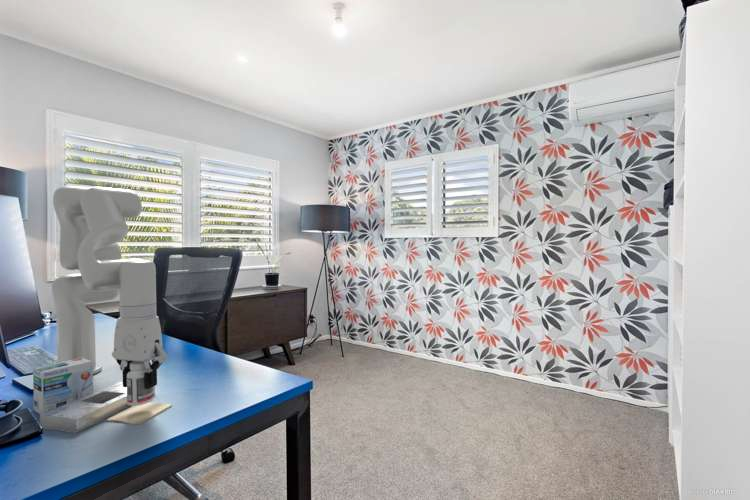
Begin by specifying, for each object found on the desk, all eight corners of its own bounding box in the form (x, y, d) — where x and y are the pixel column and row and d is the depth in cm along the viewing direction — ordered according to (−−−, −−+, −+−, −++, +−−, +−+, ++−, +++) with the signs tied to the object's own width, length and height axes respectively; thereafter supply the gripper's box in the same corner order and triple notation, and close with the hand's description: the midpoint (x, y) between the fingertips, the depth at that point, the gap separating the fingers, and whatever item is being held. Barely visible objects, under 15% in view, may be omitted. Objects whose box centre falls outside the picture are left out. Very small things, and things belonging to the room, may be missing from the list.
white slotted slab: (40, 428, 86) (39, 415, 85) (124, 390, 107) (124, 380, 107) (76, 432, 83) (76, 419, 83) (154, 393, 105) (154, 382, 105)
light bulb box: (43, 417, 91) (41, 372, 91) (32, 411, 95) (31, 367, 94) (94, 401, 100) (93, 360, 100) (83, 396, 104) (82, 356, 104)
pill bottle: (156, 396, 96) (155, 357, 96) (148, 405, 91) (147, 364, 91) (132, 398, 95) (131, 359, 95) (123, 407, 90) (122, 366, 89)
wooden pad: (106, 420, 89) (106, 419, 89) (141, 403, 99) (141, 401, 99) (139, 424, 87) (139, 422, 87) (171, 406, 97) (171, 404, 97)
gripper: (95, 313, 91) (96, 389, 91) (156, 315, 87) (158, 395, 87) (122, 307, 98) (123, 378, 98) (180, 309, 94) (181, 383, 95)
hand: (140, 385), depth 93 cm, fingers closed on pill bottle, 5 cm apart
